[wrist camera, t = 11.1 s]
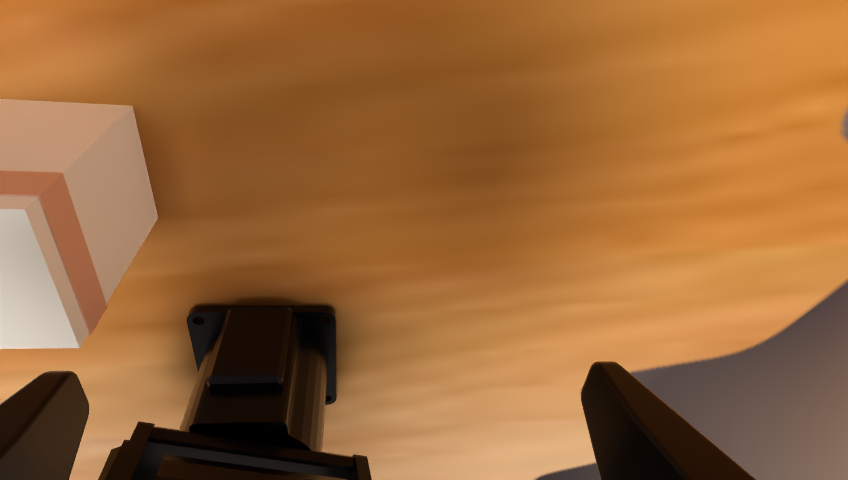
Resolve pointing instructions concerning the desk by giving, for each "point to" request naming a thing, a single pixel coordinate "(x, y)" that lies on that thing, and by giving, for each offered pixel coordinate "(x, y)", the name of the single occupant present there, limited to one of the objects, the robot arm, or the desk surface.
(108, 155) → the light grey boxy piece
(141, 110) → the desk surface
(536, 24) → the desk surface
